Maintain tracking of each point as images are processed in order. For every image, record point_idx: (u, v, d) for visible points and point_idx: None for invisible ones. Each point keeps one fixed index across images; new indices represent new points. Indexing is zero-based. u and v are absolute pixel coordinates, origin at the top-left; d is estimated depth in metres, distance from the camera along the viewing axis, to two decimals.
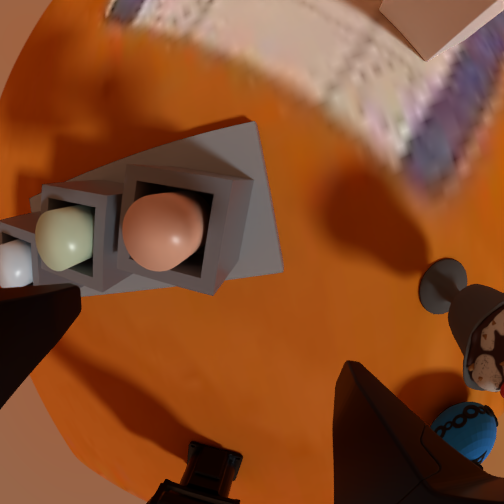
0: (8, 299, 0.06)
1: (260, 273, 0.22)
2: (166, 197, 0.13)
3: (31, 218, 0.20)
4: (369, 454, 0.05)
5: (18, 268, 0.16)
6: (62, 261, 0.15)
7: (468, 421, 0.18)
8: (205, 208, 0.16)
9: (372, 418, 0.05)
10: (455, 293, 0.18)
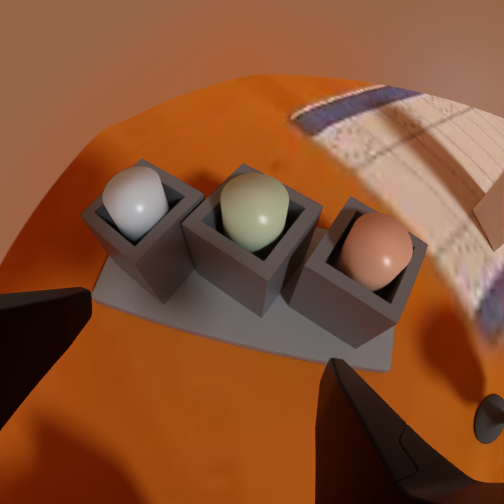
0: (18, 305, 0.06)
1: (370, 366, 0.19)
2: (398, 223, 0.16)
3: None
4: (347, 453, 0.05)
5: (156, 200, 0.16)
6: (256, 218, 0.15)
7: None
8: None
9: (351, 416, 0.05)
10: None
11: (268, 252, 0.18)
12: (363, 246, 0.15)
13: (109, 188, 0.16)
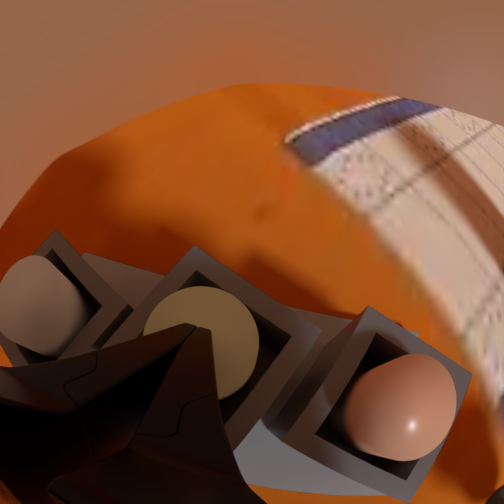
0: (141, 364, 0.05)
1: (368, 493, 0.12)
2: (441, 365, 0.08)
3: None
4: None
5: (55, 321, 0.09)
6: None
7: None
8: None
9: None
10: None
11: (231, 397, 0.11)
12: (381, 425, 0.07)
13: (2, 291, 0.09)
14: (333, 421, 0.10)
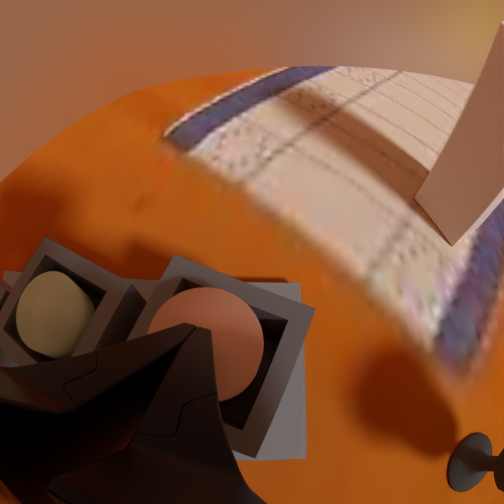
0: (141, 364, 0.05)
1: (276, 457, 0.14)
2: (237, 297, 0.10)
3: (2, 281, 0.14)
4: None
5: None
6: (46, 340, 0.10)
7: None
8: None
9: None
10: (491, 458, 0.11)
11: None
12: None
13: None
14: None
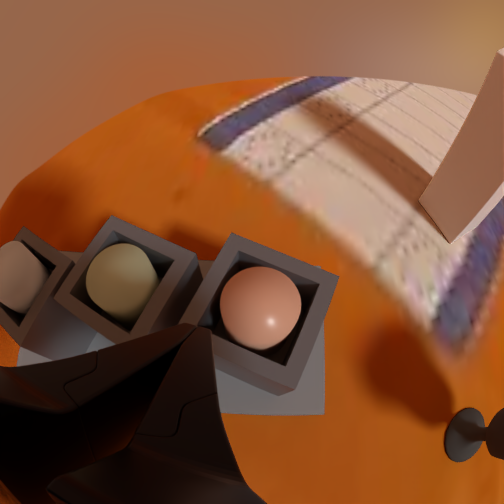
0: (142, 364, 0.05)
1: (299, 413, 0.17)
2: (282, 274, 0.14)
3: None
4: None
5: (26, 278, 0.13)
6: (118, 299, 0.13)
7: None
8: None
9: None
10: (483, 428, 0.14)
11: None
12: (234, 315, 0.13)
13: None
14: None
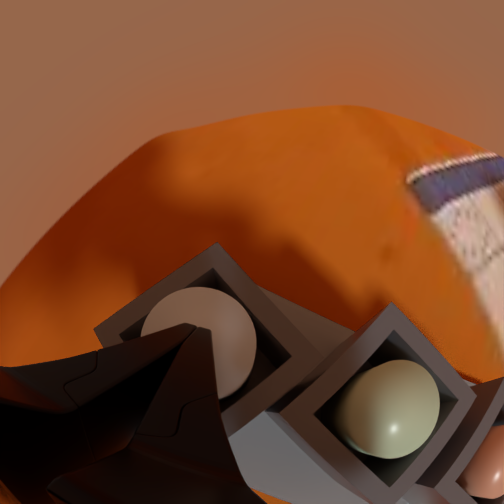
0: (142, 364, 0.05)
1: None
2: None
3: None
4: None
5: (244, 378, 0.09)
6: (394, 445, 0.08)
7: None
8: None
9: None
10: None
11: None
12: (487, 473, 0.06)
13: (155, 326, 0.09)
14: None
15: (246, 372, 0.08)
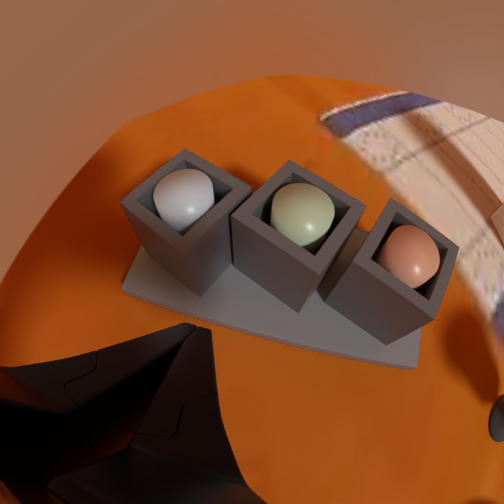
0: (142, 364, 0.05)
1: (399, 363, 0.19)
2: (427, 235, 0.17)
3: None
4: None
5: (209, 203, 0.18)
6: (306, 226, 0.17)
7: None
8: None
9: None
10: None
11: None
12: (399, 255, 0.16)
13: (160, 189, 0.18)
14: None
15: (209, 197, 0.17)
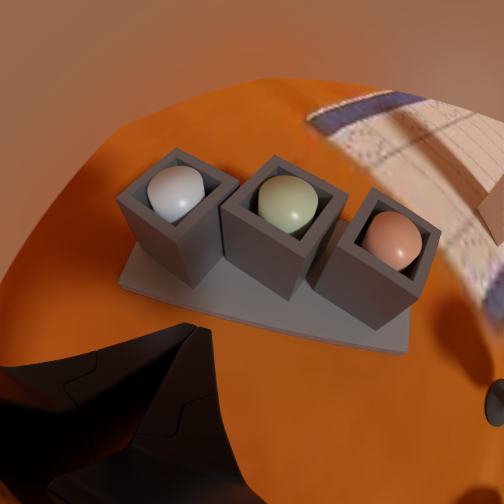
0: (142, 364, 0.05)
1: (390, 348, 0.21)
2: (409, 220, 0.18)
3: None
4: None
5: (200, 196, 0.19)
6: (291, 214, 0.18)
7: None
8: None
9: None
10: None
11: None
12: (381, 239, 0.17)
13: (154, 185, 0.19)
14: None
15: (199, 191, 0.18)
